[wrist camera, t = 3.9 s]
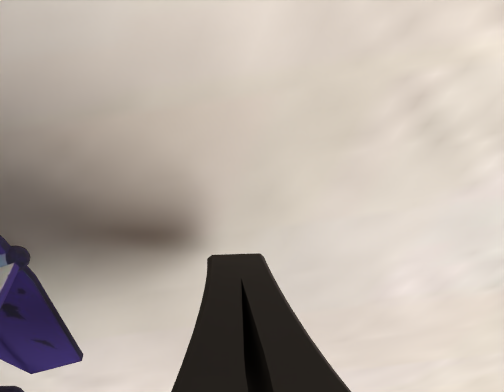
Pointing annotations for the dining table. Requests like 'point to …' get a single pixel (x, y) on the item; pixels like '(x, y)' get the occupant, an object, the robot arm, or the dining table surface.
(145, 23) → the dining table surface
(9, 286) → the toy airplane
